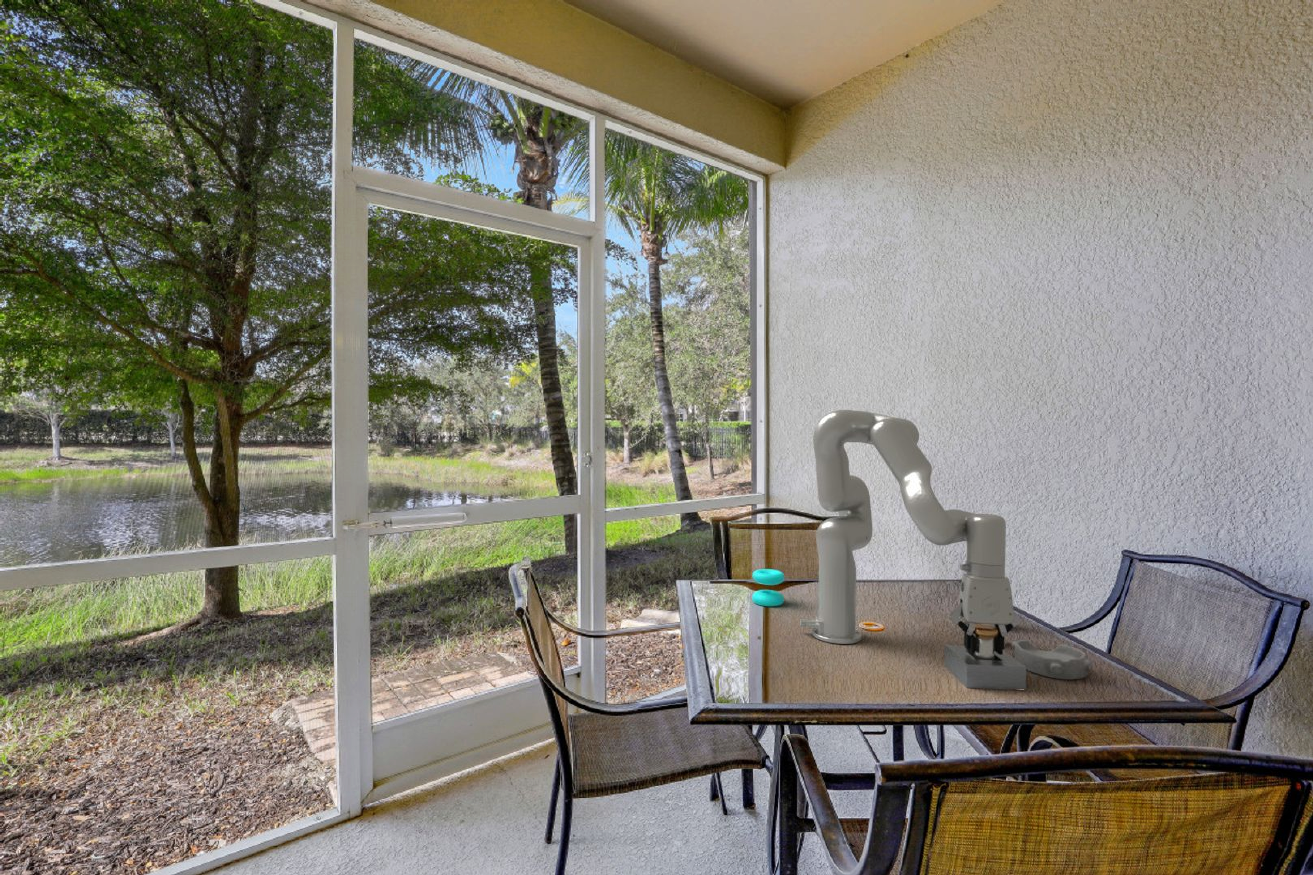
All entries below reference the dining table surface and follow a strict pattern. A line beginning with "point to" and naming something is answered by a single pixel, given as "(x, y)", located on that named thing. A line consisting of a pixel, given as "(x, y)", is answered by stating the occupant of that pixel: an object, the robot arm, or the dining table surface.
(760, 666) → the dining table surface
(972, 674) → the gray square-hole block
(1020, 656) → the dish
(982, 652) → the pin
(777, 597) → the donuts
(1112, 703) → the dining table surface
